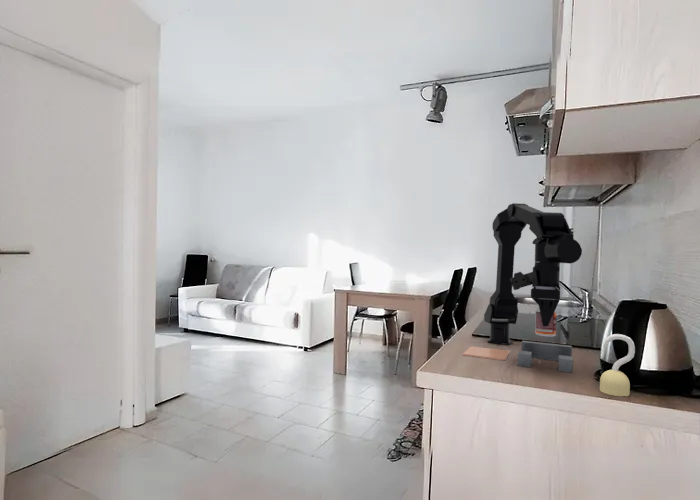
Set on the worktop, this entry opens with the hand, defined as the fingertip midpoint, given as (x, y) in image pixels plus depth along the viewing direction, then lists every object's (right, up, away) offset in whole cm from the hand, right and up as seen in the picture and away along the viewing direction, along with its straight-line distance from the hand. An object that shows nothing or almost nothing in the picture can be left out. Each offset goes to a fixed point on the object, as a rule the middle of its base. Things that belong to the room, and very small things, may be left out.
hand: (545, 324), depth 107 cm
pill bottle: (0, -3, 0) cm, 3 cm away
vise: (+3, -11, +6) cm, 13 cm away
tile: (-11, -10, +13) cm, 20 cm away
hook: (+6, -11, -19) cm, 23 cm away
